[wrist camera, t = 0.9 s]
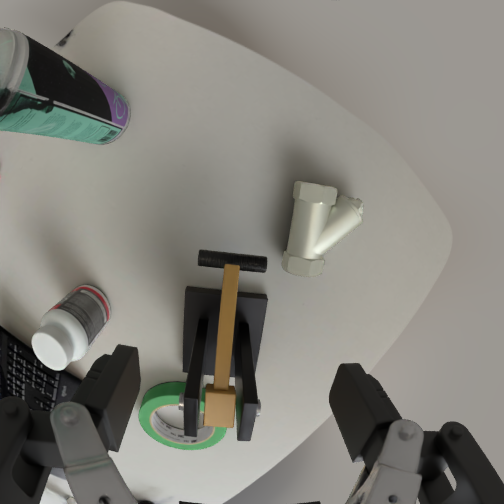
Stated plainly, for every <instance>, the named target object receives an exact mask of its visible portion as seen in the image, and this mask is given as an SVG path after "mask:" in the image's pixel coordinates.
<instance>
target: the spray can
mask: <svg viewBox="0 0 504 504" xmlns="http://www.w3.org/2000/svg"><path fill="white" fill-rule="evenodd" d="M129 120H130V106H129V104H128V102H127V100H126V99H125V98H124V97H123V96H122V95H121V94H119V93H118V92H116V91H115V90H113V89H112V88H110V87H109V86H107V85H106V84H104V83H103V82H101V81H100V80H98V79H97V78H95V77H94V76H92V75H91V74H89V73H87V72H86V71H84V70H83V69H81V68H80V67H78V66H76V65H75V64H73V63H72V62H70V61H68V60H67V59H65V58H63V57H62V56H60V55H59V54H57V53H55V52H54V51H52V50H50V49H49V48H47V47H45V46H43V45H42V44H40V43H38V42H37V41H35V40H33V39H31V38H30V37H28V36H26V35H24V34H23V33H21V32H19V31H16V30H11V29H9V28H5V27H4V28H0V130H1V131H11V132H19V133H28V134H36V135H43V136H50V137H57V138H63V139H70V140H76V141H82V142H87V143H93V144H108V143H111V142H113V141H115V140H116V139H118V138H119V137H120V136H121V135H122V134H123V132H124V131H125V129H126V128H127V126H128V123H129Z"/></svg>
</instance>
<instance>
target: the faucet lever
mask: <svg viewBox="0 0 504 504" xmlns="http://www.w3.org/2000/svg"><path fill="white" fill-rule="evenodd" d="M198 266H205V267H214V268H224V274H223V284H222V294H221V305H220V315H219V326H218V337H217V348H216V360H215V373H214V384H206V391H205V404H204V420H203V425H204V426H213V427H225V428H233V427H234V417H235V406H236V391H235V387H234V386H230V385H229V378H230V366H231V355H232V344H233V333H234V322H235V311H236V301H237V290H238V280H239V270H242V271H252V272H262V273H265V272H266V269H267V257H264V256H255V255H246V254H237V253H228V252H218V251H209V250H199V255H198Z"/></svg>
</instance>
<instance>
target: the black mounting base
mask: <svg viewBox="0 0 504 504" xmlns="http://www.w3.org/2000/svg"><path fill="white" fill-rule="evenodd" d="M221 294H222V290H214V289H205V288H197V287H188V286H187V288H186V290H185V306H184V332H183V372H187V373H188V375H187V381H186V386H185V392H184V393H182V392H181V393H180V395H179V410H184V436H189V437H197V435H198V424H199V414H200V405H201V396H202V387H203V378H204V375H213V376H214V373H215V360H216V348H217V337H218V326H219V315H220V305H221ZM267 301H268V299H267V295H265V294H254V293H243V292H237V301H236V311H235V322H234V333H233V344H232V355H231V366H230V377H235V391H236V421H237V440H238V441H250V440H251V435H252V431H253V426H254V422H255V417H256V416H259V415H260V408H261V403H260V399H258V396H257V388H256V380H255V371H256V365H257V360H258V354H259V348H260V343H261V337H262V331H263V325H264V319H265V313H266V307H267Z"/></svg>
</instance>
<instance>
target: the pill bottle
mask: <svg viewBox="0 0 504 504" xmlns="http://www.w3.org/2000/svg"><path fill="white" fill-rule="evenodd" d="M110 316H111V309H110V306H109V302H108V300H107V299H106V297H105V296H104V295H103V293H102V292H101V291H99V290H98V289H97V288H95V287H92V286H89V285H82V286H79V287H77V288H75V289H74V290H73V291H72V292H70V293H69V294H68V295H67V296H66V297H64V298H63V299H62V300H61V301H60V302H58V303H57V304H56V305H55V306H54V307H53V308H51V309H50V310H49V311H48V312H47V313H46V314H45V315H44V316H43V318H42V320H41V327H40V328H39V329H38V331H37V332H36V333H35V334H34V335H33V337H32V347H33V350H34V352H35V354H36V356H37V357H38V358H39V360H40V361H41V362H42V363H43V364H45V365H46V366H47V367H49V368H51V369H54V370H63V369H64V368H65V367H66V366H67V365H68V364H69V363H70V362H71V361H77V360H79V359H81V358H82V357H83V356H84V355H85V354H86V352H87V351H88V350H89V348H90V347H91V346H92V344H93V343H94V341H95V340H96V338H97V337H98V336H99V334H100V333H101V332H102V330H103V329H104V328H105V326H106V325H107V324H108V322H109V320H110Z"/></svg>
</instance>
